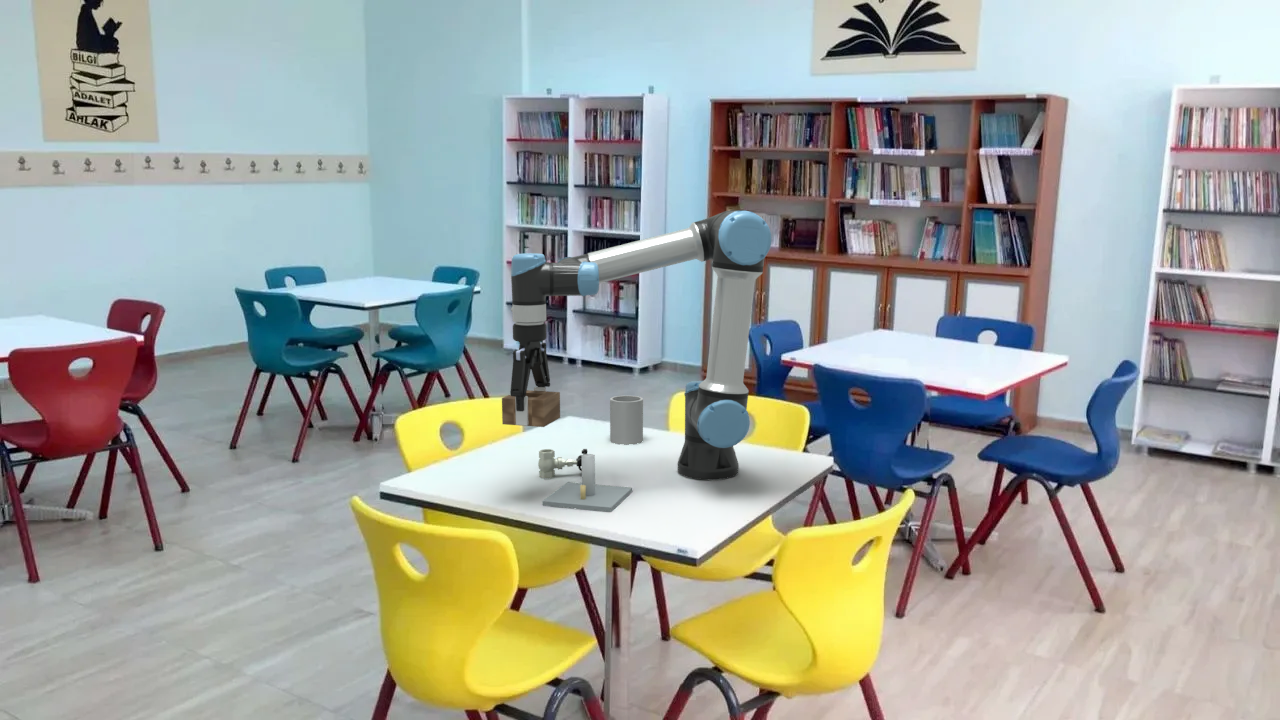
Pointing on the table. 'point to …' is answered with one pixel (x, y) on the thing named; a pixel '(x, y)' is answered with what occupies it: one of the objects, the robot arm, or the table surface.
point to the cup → (626, 420)
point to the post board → (590, 502)
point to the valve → (555, 463)
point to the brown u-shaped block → (533, 408)
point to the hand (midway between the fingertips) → (531, 419)
